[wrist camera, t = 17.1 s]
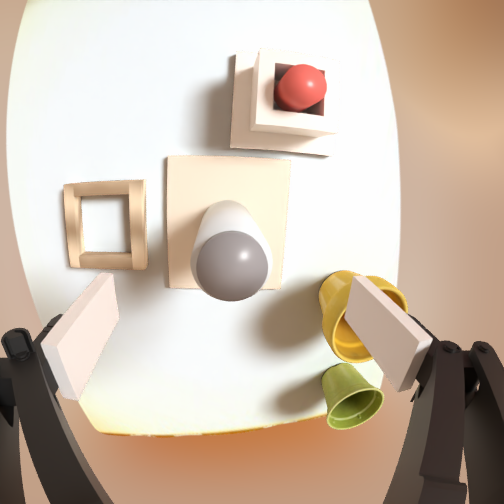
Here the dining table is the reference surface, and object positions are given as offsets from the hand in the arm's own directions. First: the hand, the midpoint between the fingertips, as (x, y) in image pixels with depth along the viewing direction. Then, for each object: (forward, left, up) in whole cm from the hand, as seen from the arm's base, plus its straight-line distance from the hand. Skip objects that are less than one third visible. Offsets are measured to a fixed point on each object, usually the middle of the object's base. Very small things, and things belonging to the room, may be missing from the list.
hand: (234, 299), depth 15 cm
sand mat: (0, 0, -20) cm, 20 cm away
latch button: (-15, +6, -16) cm, 23 cm away
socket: (0, -15, -20) cm, 25 cm away
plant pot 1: (+9, +16, -20) cm, 27 cm away
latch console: (-15, +6, -20) cm, 26 cm away
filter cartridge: (0, 0, -19) cm, 19 cm away
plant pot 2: (+25, +19, -20) cm, 38 cm away
